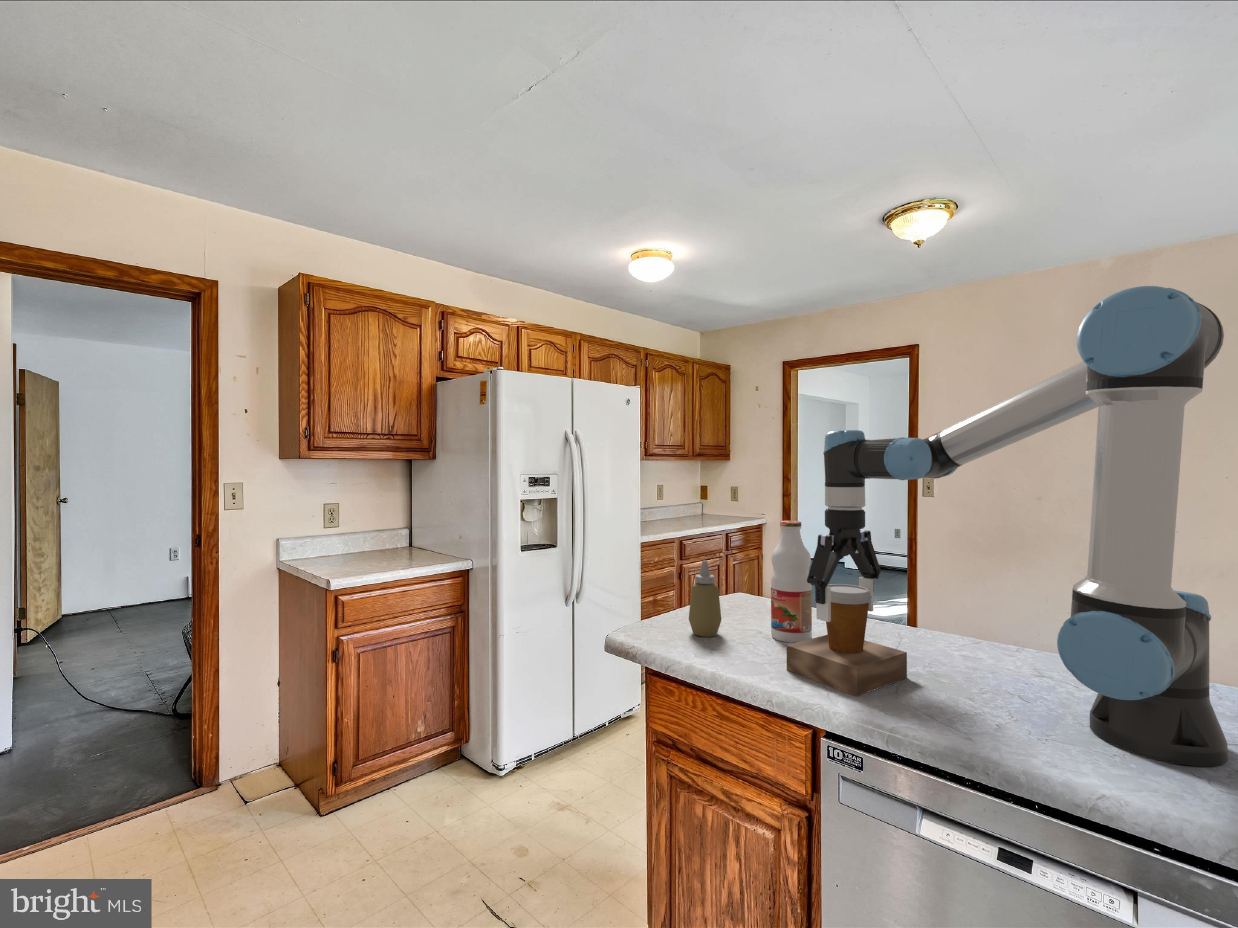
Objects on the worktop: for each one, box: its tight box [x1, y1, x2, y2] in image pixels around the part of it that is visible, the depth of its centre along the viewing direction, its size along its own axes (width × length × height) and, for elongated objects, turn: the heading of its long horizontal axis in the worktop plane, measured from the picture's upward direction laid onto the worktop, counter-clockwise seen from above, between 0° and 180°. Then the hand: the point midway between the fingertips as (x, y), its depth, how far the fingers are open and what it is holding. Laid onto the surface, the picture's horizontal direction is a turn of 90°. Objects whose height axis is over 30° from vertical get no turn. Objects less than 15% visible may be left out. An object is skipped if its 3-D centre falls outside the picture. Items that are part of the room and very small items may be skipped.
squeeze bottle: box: [688, 560, 722, 638], centre depth 142 cm, size 8×8×18 cm
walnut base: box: [786, 634, 908, 697], centre depth 115 cm, size 16×16×5 cm
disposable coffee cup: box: [825, 583, 872, 654], centre depth 115 cm, size 10×10×12 cm
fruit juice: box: [770, 520, 813, 644], centre depth 139 cm, size 9×9×28 cm
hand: (845, 615), depth 115 cm, fingers open, 13 cm apart
